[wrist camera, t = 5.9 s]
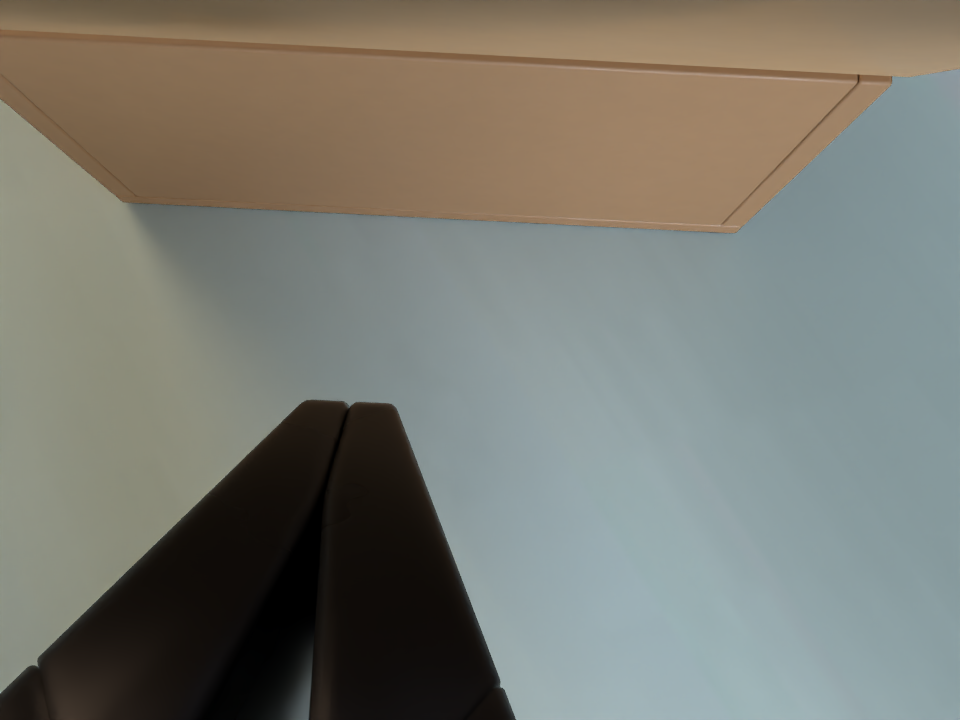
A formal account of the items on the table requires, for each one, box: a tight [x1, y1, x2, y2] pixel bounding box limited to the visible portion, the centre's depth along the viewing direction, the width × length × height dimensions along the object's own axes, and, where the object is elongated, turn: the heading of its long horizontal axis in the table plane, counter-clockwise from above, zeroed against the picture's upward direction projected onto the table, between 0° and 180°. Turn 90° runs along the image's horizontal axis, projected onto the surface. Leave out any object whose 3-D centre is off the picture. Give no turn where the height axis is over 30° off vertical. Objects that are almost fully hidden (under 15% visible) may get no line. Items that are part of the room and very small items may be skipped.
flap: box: [0, 0, 960, 77], centre depth 9 cm, size 6×14×1 cm
